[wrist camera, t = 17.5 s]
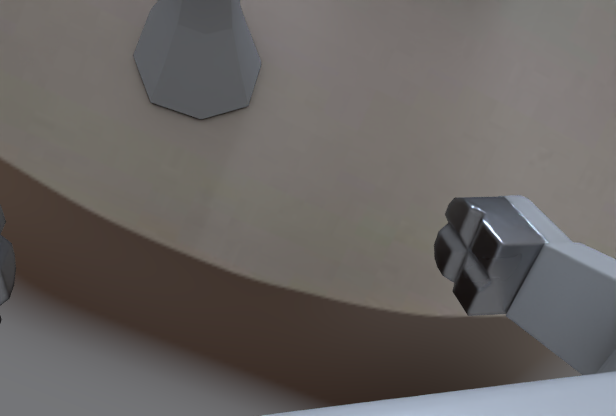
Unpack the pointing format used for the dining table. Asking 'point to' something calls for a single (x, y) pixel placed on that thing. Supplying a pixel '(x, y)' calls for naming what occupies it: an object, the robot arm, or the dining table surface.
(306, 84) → the dining table surface
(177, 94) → the flask
